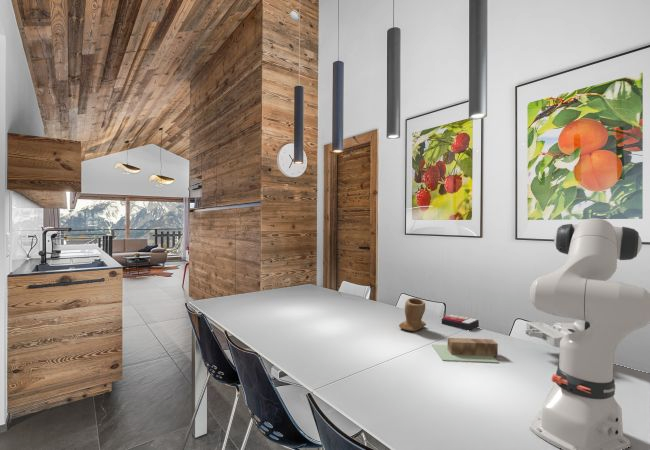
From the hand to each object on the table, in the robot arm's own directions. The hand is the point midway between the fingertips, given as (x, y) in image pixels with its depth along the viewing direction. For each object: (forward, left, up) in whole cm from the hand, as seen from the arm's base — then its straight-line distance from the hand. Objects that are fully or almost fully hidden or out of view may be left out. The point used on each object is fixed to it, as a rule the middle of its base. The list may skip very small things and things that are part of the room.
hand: (527, 333), depth 133 cm
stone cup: (-14, +47, -9) cm, 50 cm away
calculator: (+11, +39, -10) cm, 42 cm away
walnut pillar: (-11, +7, -6) cm, 14 cm away
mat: (-21, +14, -9) cm, 27 cm away
